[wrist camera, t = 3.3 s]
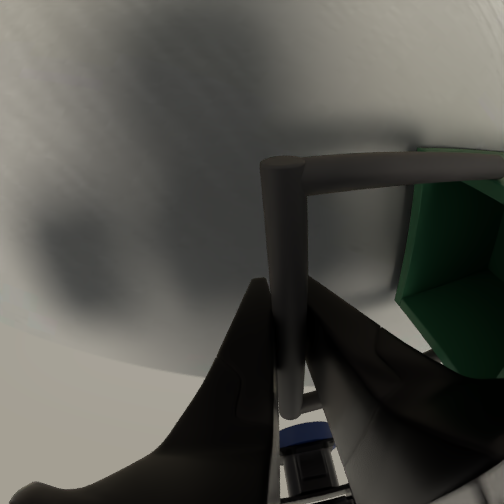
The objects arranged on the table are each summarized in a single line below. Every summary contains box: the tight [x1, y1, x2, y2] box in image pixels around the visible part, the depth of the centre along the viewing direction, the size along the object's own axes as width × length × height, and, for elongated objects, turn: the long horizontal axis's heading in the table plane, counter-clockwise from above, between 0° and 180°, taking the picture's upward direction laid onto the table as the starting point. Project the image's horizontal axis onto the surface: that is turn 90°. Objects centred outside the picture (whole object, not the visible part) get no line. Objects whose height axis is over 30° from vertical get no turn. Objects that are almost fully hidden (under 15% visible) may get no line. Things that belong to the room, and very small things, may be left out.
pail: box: [260, 148, 504, 420], centre depth 8 cm, size 14×8×7 cm, turn 96°
